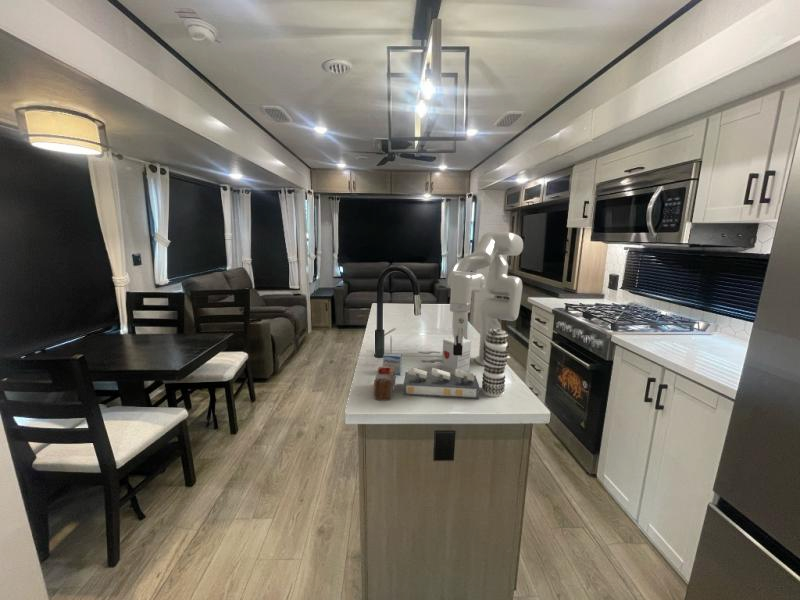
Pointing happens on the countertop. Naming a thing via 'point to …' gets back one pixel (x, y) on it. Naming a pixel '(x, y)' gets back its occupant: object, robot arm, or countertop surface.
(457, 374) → the rocker
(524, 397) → the countertop surface
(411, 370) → the rocker
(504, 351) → the decorative candle
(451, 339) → the supplement box
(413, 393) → the switch unit
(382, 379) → the food item
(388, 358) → the medicine box
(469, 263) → the robot arm
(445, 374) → the rocker
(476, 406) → the countertop surface
